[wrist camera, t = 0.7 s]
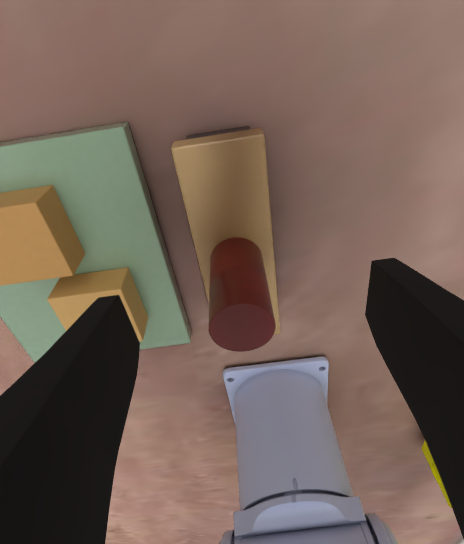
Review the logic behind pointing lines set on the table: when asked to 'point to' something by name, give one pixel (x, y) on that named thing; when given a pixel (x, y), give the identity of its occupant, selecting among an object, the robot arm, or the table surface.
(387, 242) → the table surface
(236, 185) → the brush
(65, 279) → the biscuit
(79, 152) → the tile
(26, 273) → the biscuit
